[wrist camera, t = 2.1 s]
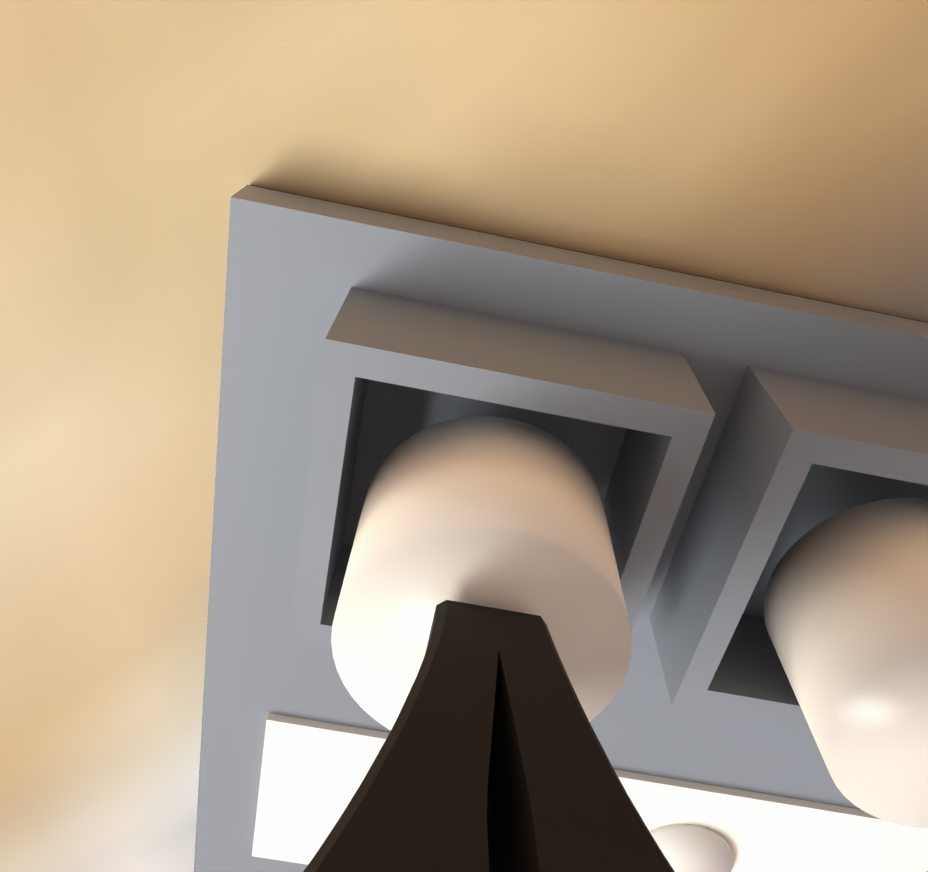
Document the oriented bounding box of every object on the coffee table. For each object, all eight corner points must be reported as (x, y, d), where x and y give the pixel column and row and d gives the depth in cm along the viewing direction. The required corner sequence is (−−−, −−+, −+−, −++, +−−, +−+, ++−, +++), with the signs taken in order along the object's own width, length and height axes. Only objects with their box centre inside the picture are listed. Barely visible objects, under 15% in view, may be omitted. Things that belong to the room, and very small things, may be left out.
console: (1019, 965, 24) (1095, 1103, 21) (205, 841, 22) (160, 970, 19) (1504, 440, 15) (1751, 545, 12) (247, 184, 14) (179, 234, 11)
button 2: (569, 633, 14) (586, 774, 12) (349, 595, 14) (316, 730, 12) (634, 442, 13) (671, 558, 10) (381, 394, 12) (351, 500, 10)
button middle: (938, 697, 15) (1034, 846, 12) (730, 661, 15) (783, 806, 12) (1053, 522, 13) (1197, 652, 10) (817, 477, 13) (902, 599, 10)
